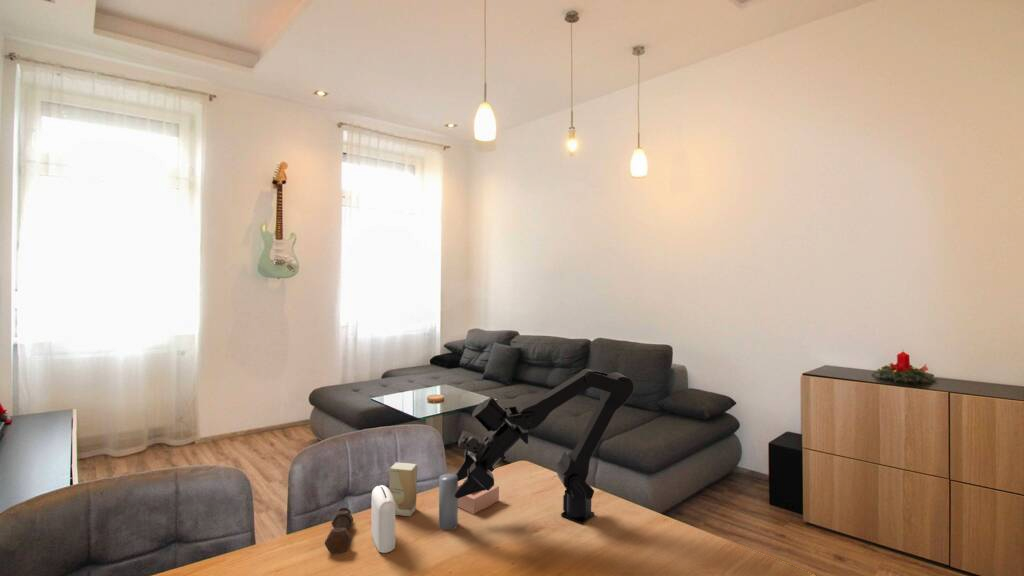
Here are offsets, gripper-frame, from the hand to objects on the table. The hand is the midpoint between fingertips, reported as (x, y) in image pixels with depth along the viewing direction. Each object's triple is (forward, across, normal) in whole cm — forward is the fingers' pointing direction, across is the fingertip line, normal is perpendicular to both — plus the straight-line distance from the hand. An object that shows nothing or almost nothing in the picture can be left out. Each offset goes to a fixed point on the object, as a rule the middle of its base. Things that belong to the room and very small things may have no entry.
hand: (455, 488), depth 121 cm
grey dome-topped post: (+8, 0, +5) cm, 9 cm away
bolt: (+26, +2, -12) cm, 28 cm away
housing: (+2, -12, +10) cm, 16 cm away
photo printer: (+18, +6, -5) cm, 20 cm away
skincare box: (+16, -8, -3) cm, 18 cm away
